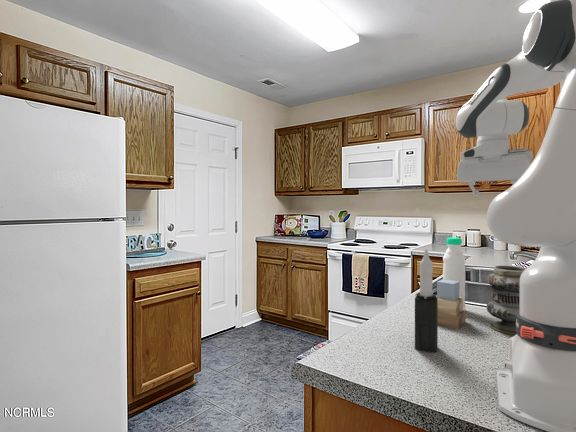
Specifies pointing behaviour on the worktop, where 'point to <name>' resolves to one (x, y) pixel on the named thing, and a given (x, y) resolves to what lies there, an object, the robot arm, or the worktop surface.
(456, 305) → the top block
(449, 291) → the blue cube
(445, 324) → the bottom block
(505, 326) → the apothecary jar
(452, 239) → the water bottle
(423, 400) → the worktop surface
